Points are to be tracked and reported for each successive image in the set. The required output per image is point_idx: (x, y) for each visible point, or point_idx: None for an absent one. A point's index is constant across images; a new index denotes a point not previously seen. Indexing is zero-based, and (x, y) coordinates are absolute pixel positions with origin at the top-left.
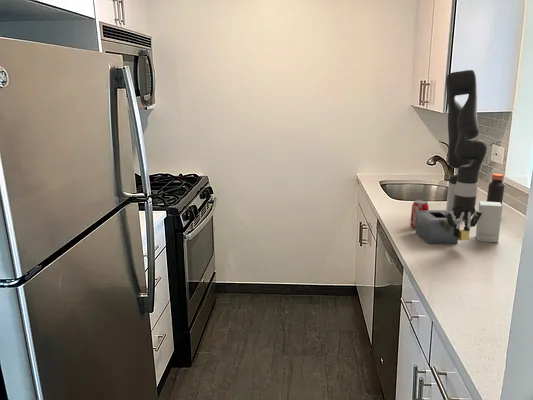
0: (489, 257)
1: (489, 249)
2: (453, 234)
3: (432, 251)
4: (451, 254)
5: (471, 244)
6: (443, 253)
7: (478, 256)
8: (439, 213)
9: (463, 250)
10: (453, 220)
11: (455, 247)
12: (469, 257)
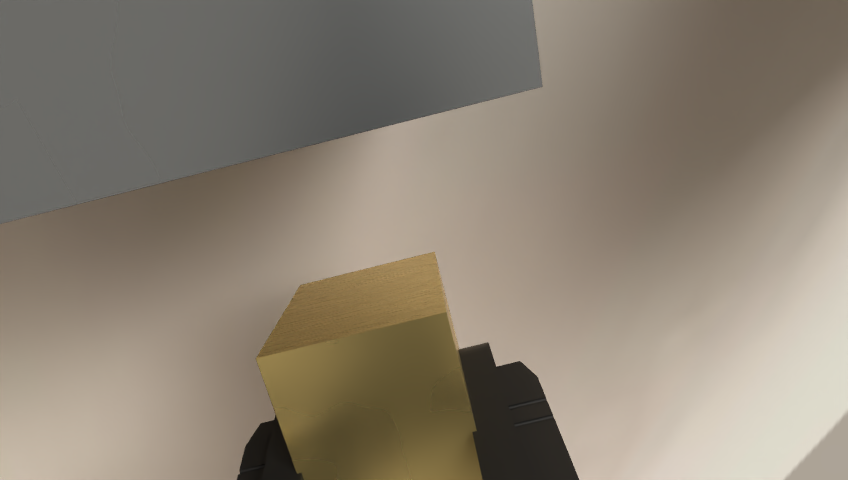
0: (642, 412)
1: (776, 183)
2: (255, 436)
3: (53, 389)
4: None
5: (628, 11)
6: (186, 416)
7: None
8: None
9: None
10: (180, 170)
11: (353, 196)
12: None
